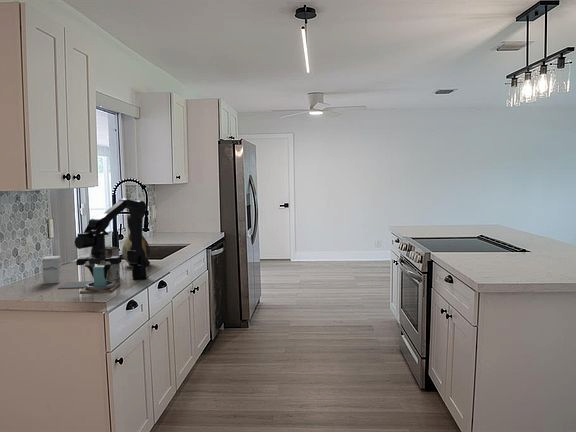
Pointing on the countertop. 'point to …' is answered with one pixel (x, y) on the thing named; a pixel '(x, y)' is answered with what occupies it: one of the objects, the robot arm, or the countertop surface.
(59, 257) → the supplement box
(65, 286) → the charcoal mat
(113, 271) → the coffee box
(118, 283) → the walnut stand
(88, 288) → the metal ring
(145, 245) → the ceramic jug
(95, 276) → the teal post
